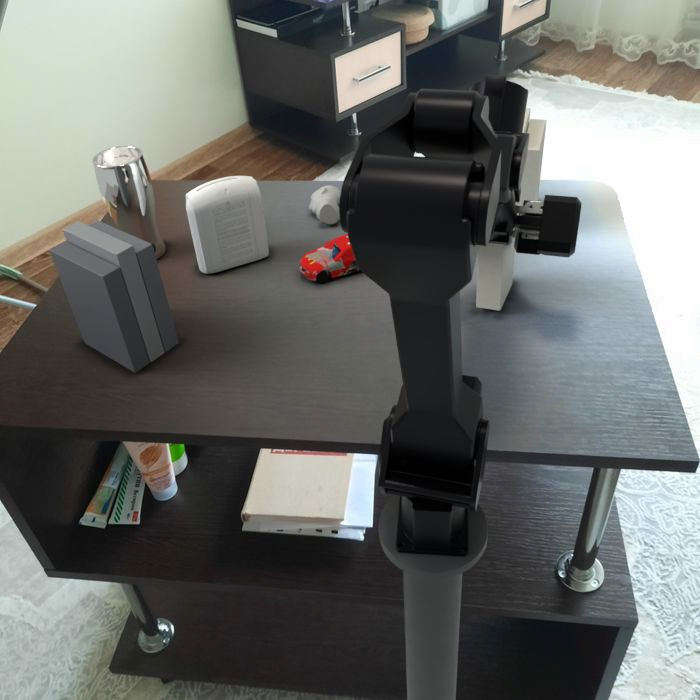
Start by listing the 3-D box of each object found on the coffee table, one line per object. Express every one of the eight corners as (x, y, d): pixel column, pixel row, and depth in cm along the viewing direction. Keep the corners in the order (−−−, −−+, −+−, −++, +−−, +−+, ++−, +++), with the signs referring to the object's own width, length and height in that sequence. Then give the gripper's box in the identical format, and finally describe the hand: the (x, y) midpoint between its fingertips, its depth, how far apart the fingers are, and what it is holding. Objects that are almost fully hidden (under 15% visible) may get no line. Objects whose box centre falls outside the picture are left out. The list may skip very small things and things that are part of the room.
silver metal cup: (178, 245, 107) (154, 149, 97) (147, 270, 102) (119, 171, 93) (142, 236, 110) (115, 141, 100) (110, 259, 105) (79, 162, 96)
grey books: (179, 343, 89) (150, 236, 79) (135, 373, 85) (98, 264, 75) (128, 315, 94) (94, 212, 85) (84, 343, 90) (44, 238, 81)
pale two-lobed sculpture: (316, 209, 115) (346, 199, 114) (312, 235, 109) (344, 224, 107) (305, 186, 113) (336, 175, 111) (300, 210, 106) (332, 199, 105)
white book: (500, 311, 88) (506, 210, 81) (475, 307, 89) (479, 208, 82) (512, 284, 94) (519, 187, 86) (489, 281, 95) (494, 185, 87)
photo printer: (263, 243, 106) (250, 164, 98) (274, 257, 103) (262, 176, 95) (195, 264, 103) (176, 184, 95) (204, 279, 100) (185, 197, 92)
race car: (307, 289, 96) (303, 263, 94) (294, 268, 100) (291, 243, 98) (399, 264, 99) (398, 238, 97) (383, 245, 103) (382, 220, 101)
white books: (530, 237, 102) (540, 138, 93) (481, 233, 104) (487, 135, 95) (537, 203, 110) (547, 108, 100) (492, 199, 111) (497, 106, 102)
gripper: (593, 128, 72) (584, 180, 87) (407, 118, 77) (429, 169, 92) (577, 238, 71) (571, 272, 86) (391, 221, 76) (416, 256, 91)
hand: (495, 239), depth 89 cm, fingers open, 5 cm apart
